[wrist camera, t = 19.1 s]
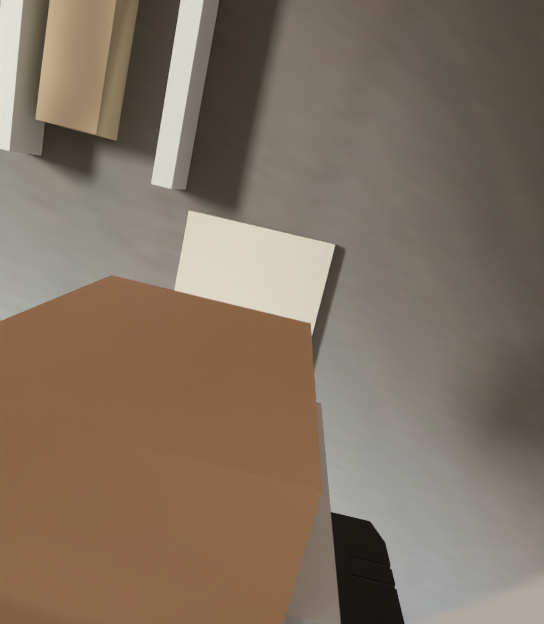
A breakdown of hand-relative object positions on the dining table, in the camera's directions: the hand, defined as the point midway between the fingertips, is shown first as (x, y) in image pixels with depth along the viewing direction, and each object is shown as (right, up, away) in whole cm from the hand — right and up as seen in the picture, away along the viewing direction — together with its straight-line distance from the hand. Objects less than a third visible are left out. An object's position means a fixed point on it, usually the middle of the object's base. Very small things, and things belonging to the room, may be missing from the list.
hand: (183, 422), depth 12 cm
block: (0, +1, 0) cm, 1 cm away
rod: (-6, +19, +12) cm, 23 cm away
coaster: (+1, +4, +15) cm, 16 cm away
